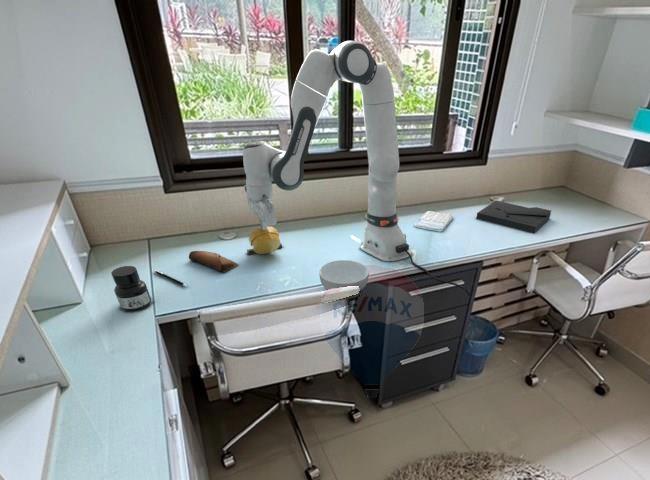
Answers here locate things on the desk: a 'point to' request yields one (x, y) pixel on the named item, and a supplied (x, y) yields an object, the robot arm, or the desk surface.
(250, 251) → the strip
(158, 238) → the desk surface
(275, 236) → the glazed bowl
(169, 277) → the pen
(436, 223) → the white folded towel
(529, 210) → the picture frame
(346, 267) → the cereal bowl
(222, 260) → the sunglasses case
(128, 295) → the ink bottle
